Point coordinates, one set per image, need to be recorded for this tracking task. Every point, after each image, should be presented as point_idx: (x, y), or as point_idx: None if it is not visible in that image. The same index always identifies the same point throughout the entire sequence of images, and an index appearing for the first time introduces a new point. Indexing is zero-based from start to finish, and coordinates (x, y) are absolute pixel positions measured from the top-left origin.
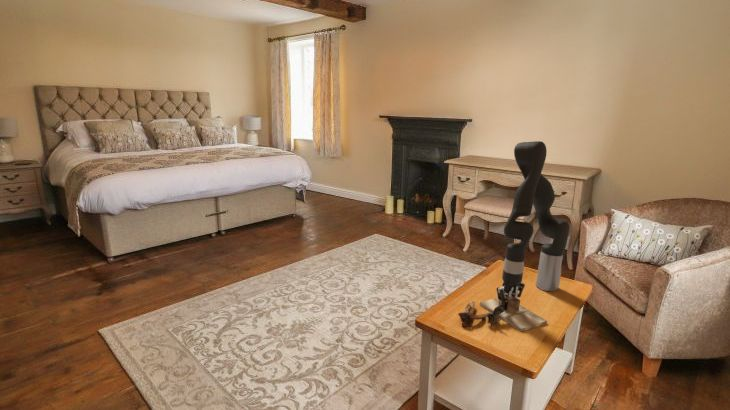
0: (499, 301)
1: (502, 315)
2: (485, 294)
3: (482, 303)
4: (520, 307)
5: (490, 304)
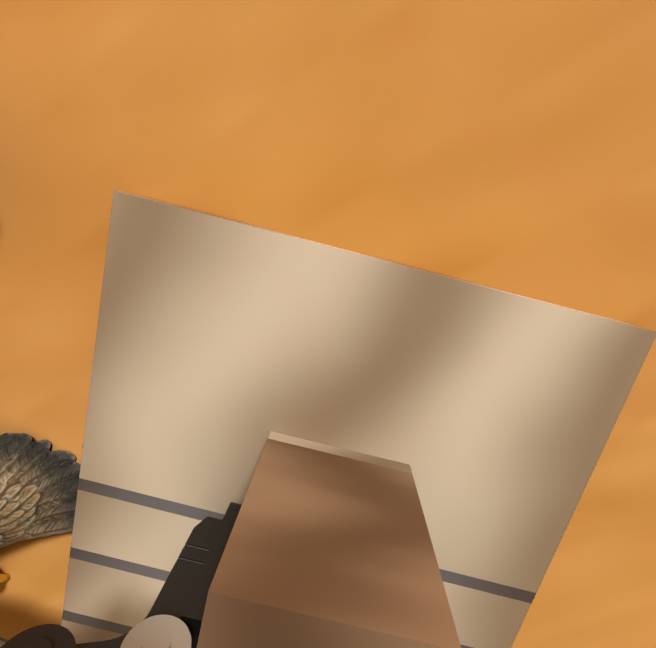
0: (249, 486)
1: (87, 582)
2: (536, 33)
3: (116, 242)
4: (465, 631)
5: (199, 341)
